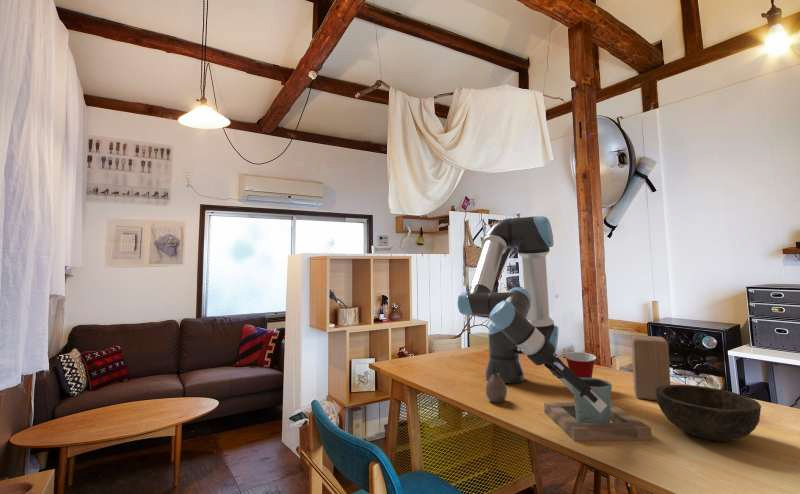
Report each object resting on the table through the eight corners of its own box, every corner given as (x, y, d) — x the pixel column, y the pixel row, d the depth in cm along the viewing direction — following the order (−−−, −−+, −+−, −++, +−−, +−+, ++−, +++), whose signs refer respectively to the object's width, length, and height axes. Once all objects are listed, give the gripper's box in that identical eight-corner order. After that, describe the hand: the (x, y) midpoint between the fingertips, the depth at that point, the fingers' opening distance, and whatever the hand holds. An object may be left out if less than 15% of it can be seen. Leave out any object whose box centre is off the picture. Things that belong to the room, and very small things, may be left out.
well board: (544, 412, 119) (544, 402, 119) (608, 411, 119) (608, 401, 119) (574, 440, 99) (573, 428, 99) (651, 439, 99) (650, 427, 99)
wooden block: (635, 399, 130) (632, 339, 131) (633, 390, 139) (631, 334, 140) (671, 403, 125) (668, 341, 127) (667, 394, 134) (664, 336, 135)
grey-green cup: (570, 427, 108) (568, 383, 108) (577, 415, 116) (575, 375, 117) (611, 435, 102) (609, 389, 103) (615, 422, 110) (613, 380, 111)
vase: (493, 396, 135) (492, 370, 135) (510, 400, 130) (510, 374, 130) (481, 401, 130) (481, 374, 130) (500, 406, 125) (499, 378, 125)
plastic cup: (565, 390, 140) (564, 357, 141) (565, 382, 150) (564, 351, 151) (599, 393, 136) (597, 359, 137) (596, 385, 146) (594, 353, 147)
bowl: (786, 447, 94) (783, 405, 94) (722, 461, 88) (719, 416, 88) (695, 415, 115) (693, 381, 115) (638, 425, 108) (636, 388, 109)
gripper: (513, 347, 122) (562, 395, 121) (542, 366, 97) (604, 427, 96) (530, 330, 122) (579, 378, 121) (563, 345, 97) (625, 405, 96)
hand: (590, 400), depth 109 cm, fingers open, 13 cm apart
